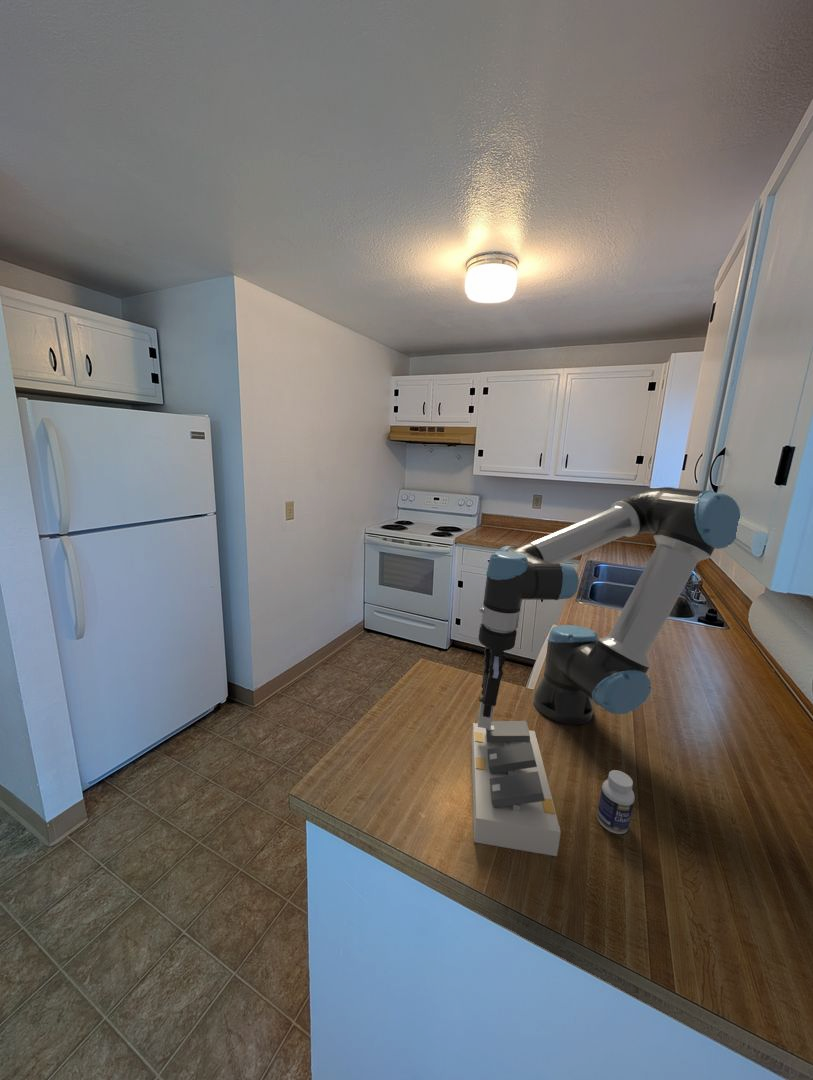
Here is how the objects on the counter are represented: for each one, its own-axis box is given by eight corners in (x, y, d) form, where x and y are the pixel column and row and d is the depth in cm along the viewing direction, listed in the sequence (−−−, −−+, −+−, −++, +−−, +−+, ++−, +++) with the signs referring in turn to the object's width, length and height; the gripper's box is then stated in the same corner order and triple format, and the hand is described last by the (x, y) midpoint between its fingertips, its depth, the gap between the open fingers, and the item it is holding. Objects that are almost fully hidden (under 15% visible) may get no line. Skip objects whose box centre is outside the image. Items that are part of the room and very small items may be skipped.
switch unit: (532, 750, 95) (535, 726, 93) (556, 856, 69) (561, 826, 68) (471, 741, 96) (473, 718, 95) (473, 842, 71) (477, 812, 70)
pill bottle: (614, 839, 73) (623, 793, 71) (590, 815, 78) (597, 771, 76) (635, 829, 75) (644, 784, 73) (610, 806, 80) (618, 763, 78)
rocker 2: (532, 748, 83) (530, 741, 83) (536, 766, 78) (534, 758, 78) (489, 755, 85) (487, 748, 84) (490, 773, 80) (488, 766, 80)
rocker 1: (526, 727, 91) (526, 720, 91) (530, 742, 86) (529, 735, 86) (485, 727, 92) (485, 720, 92) (487, 742, 87) (486, 735, 87)
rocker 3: (539, 778, 75) (537, 770, 75) (545, 800, 70) (542, 792, 70) (491, 785, 77) (489, 777, 77) (493, 807, 72) (491, 799, 72)
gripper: (479, 611, 91) (466, 705, 96) (481, 636, 79) (466, 743, 84) (513, 616, 91) (498, 710, 95) (521, 642, 78) (504, 749, 83)
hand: (483, 725), depth 89 cm, fingers closed
